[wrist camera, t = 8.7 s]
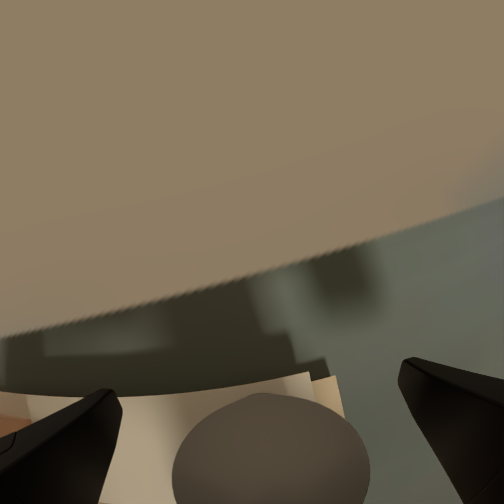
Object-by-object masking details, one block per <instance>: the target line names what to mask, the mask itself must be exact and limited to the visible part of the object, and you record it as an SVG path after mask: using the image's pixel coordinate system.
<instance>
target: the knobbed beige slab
mask: <svg viewBox="0 0 504 504" xmlns="http://www.w3.org/2000/svg"><path fill="white" fill-rule="evenodd" d="M82 398H83V397H54V396H39V395H27V394H17V393H9V392H1V391H0V438H1V437H3V436H6V435H8V434H10V433H12V432H14V431H16V432H17V431H18V430H20V429H22V428H24V427H26V426H28V425H30V424H32V423H34V422H36V421H39V420H41V419H43V418H45V417H47V416H49V415H51V414H53V413H55V412H57V411H59V410H61V409H63V408H65V407H67V406H69V405H71V404H73V403H75V402H77V401H79V400H81V399H82ZM117 398H118V400H119V402H120V404H121V406H122V409H123V416H122V420H121V425H120V430H119V435H118V439H117V444H116V448H115V452H114V455H113V458H112V461H111V464H110V467H109V470H108V473H107V476H106V479H105V482H104V486H103V489H102V492H101V495H100V499H99V502H102V503H109V504H363V502H364V499H365V496H366V494H367V491H368V486H369V481H370V464H369V458H368V454H367V450H366V448H365V446H364V443H363V441H362V439H361V438H360V436H359V435H358V433H357V432H356V430H355V429H354V428H353V427H352V426H351V425H350V423H349V422H347V421H346V420H345V419H344V418H343V417H342V416H340V415H339V414H337V413H336V412H334V411H333V410H331V409H330V408H327V407H325V406H323V405H321V404H319V403H316V401H315V397H314V392H313V387H312V383H311V379H310V374H309V371H308V372H304V373H300V374H295V375H291V376H286V377H282V378H277V379H272V380H267V381H262V382H256V383H251V384H245V385H239V386H233V387H226V388H219V389H212V390H205V391H196V392H188V393H178V394H167V395H154V396H137V397H117Z"/></svg>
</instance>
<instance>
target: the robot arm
mask: <svg viewBox="0 0 504 504" xmlns="http://www.w3.org/2000/svg"><path fill="white" fill-rule="evenodd" d="M398 386H399V388H400V390H401V392H402V395H403V397H404V399H405V401H406V403H407V405H408V408H409V410H410V412H411V414H412V416H413V418H414V420H415V421H416V423H417V425H418V426H419V428H420V430H421V431H422V433H423V434H424V436H425V438H426V439H427V441H428V443H429V444H430V446H431V448H432V449H433V451H434V453H435V454H436V456H437V458H438V460H439V461H440V463H441V465H442V466H443V468H444V470H445V472H446V473H447V475H448V477H449V478H450V480H451V482H452V484H453V486H454V487H455V489H456V491H457V493H458V494H459V496H460V498H461V500H462V502H463V504H504V380H503V379H499V378H494V377H490V376H486V375H482V374H477V373H473V372H469V371H465V370H461V369H457V368H454V367H450V366H446V365H442V364H438V363H435V362H431V361H427V360H424V359H420V358H417V357H411V358H408V359H405V360H403V362H402V364H401V368H400V372H399V376H398ZM122 416H123V409H122V406H121V404H120V402H119V400H118V398H117V396H116V394H115V392H114V391H113V390H112V389H100V390H98V391H96V392H94V393H92V394H90V395H88V396H86V397H84V398H82V399H81V400H79V401H77V402H75V403H73V404H71V405H69V406H67V407H65V408H63V409H61V410H59V411H57V412H55V413H53V414H51V415H49V416H47V417H45V418H43V419H41V420H39V421H36V422H34V423H32V424H30V425H28V426H26V427H24V428H22V429H20V430H18V431H17V432H16V431H14V432H12V433H10V434H8V435H6V436H3V437H1V438H0V504H98V502H99V499H100V495H101V492H102V489H103V486H104V482H105V479H106V476H107V473H108V470H109V467H110V464H111V461H112V458H113V455H114V452H115V448H116V444H117V439H118V435H119V430H120V425H121V420H122Z"/></svg>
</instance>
